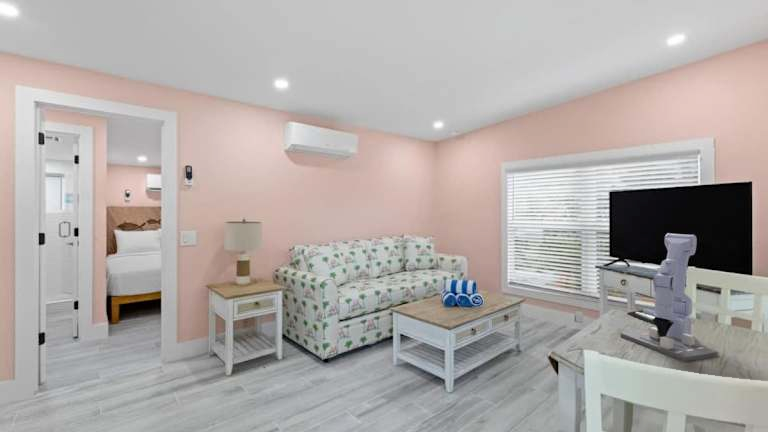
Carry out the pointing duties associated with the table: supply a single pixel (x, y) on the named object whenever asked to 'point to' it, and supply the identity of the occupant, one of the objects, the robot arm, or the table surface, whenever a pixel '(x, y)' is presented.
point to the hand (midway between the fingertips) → (662, 336)
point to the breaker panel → (670, 352)
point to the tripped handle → (654, 333)
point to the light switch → (642, 316)
